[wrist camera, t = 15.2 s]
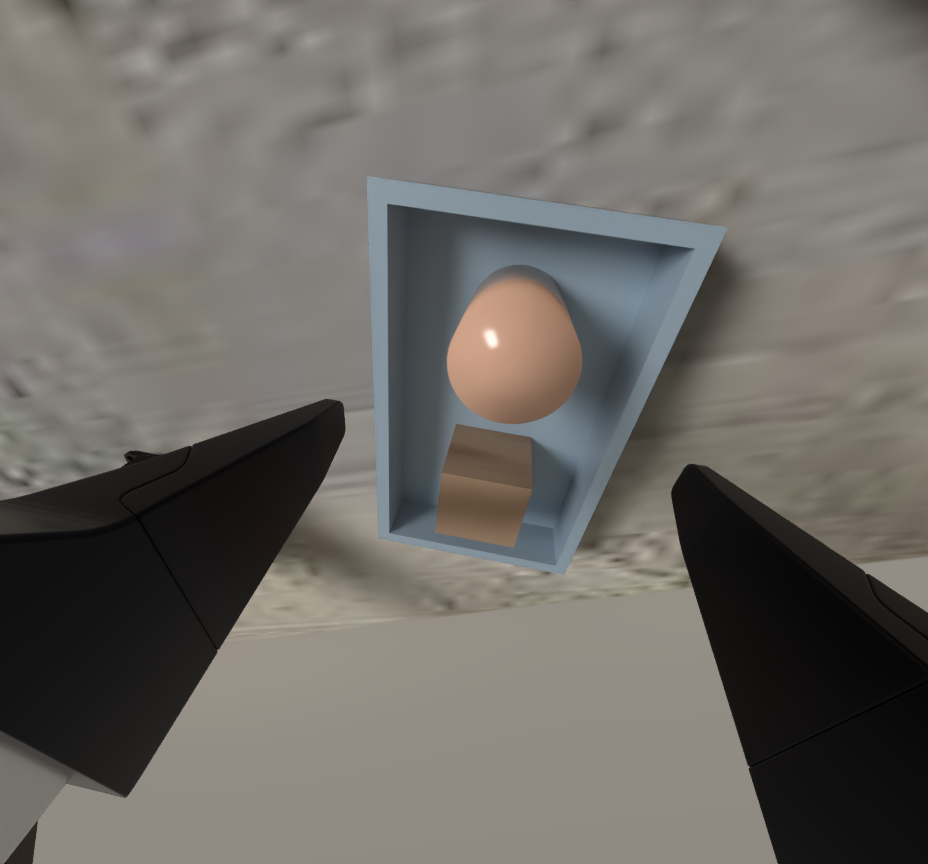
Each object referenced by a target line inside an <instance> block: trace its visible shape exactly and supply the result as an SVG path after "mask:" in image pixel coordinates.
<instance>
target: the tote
mask: <svg viewBox="0 0 928 864" xmlns="http://www.w3.org/2000/svg"><path fill="white" fill-rule="evenodd" d="M367 199H368V229H369V260H370V290H371V321H372V352H373V382H374V413H375V443H376V474H377V505H378V535H379V539H385V540H390V541H395V542H400V543H405V544H410V545H415V546H420V547H425V548H430V549H435V550H441V551H446V552H451V553H456V554H461V555H466V556H471V557H476V558H481V559H486V560H491V561H497V562H502V563H507V564H512V565H517V566H522V567H527V568H532V569H537V570H542V571H548V572H553V573H558V574H563V575H564V574H565V572H566V570H567V568H568V566H569V564H570V562H571V559H572V557H573V555H574V553H575V551H576V549H577V547H578V545H579V542H580V540H581V538H582V536H583V534H584V532H585V530H586V528H587V525H588V523H589V521H590V519H591V517H592V515H593V513H594V511H595V509H596V506H597V504H598V502H599V500H600V498H601V496H602V494H603V492H604V489H605V487H606V485H607V483H608V481H609V479H610V477H611V475H612V472H613V470H614V468H615V466H616V464H617V462H618V460H619V458H620V456H621V453H622V451H623V449H624V447H625V445H626V443H627V441H628V439H629V436H630V434H631V432H632V430H633V428H634V426H635V424H636V422H637V419H638V417H639V415H640V413H641V411H642V409H643V407H644V405H645V403H646V400H647V398H648V396H649V394H650V392H651V390H652V388H653V386H654V383H655V381H656V379H657V377H658V375H659V373H660V371H661V369H662V366H663V364H664V362H665V360H666V358H667V356H668V354H669V352H670V350H671V347H672V345H673V343H674V341H675V339H676V337H677V335H678V333H679V330H680V328H681V326H682V324H683V322H684V320H685V318H686V316H687V313H688V311H689V309H690V307H691V305H692V303H693V301H694V299H695V297H696V294H697V292H698V290H699V288H700V286H701V284H702V282H703V280H704V277H705V275H706V273H707V271H708V269H709V267H710V265H711V263H712V260H713V258H714V256H715V254H716V252H717V250H718V248H719V246H720V244H721V241H722V239H723V237H724V235H725V233H726V231H727V229H728V228H727V227H721V226H715V225H709V224H703V223H697V222H690V221H684V220H677V219H670V218H663V217H656V216H649V215H642V214H635V213H628V212H621V211H614V210H607V209H600V208H593V207H586V206H579V205H572V204H565V203H558V202H551V201H544V200H537V199H529V198H522V197H515V196H508V195H501V194H494V193H487V192H480V191H473V190H466V189H459V188H452V187H445V186H438V185H431V184H424V183H417V182H410V181H403V180H396V179H387V178H379V177H370V176H367ZM510 265H528V266H533V267H535V268H538V269H540V270H542V271H544V272H545V273H546V274H548V275H549V276H550V277H551V278H552V279H553V280H554V281H555V283H556V284H557V286H558V287H559V289H560V291H561V294H562V296H563V299H564V302H565V305H566V307H567V310H568V313H569V315H570V318H571V321H572V323H573V326H574V329H575V332H576V334H577V337H578V340H579V343H580V346H581V351H582V370H581V374H580V378H579V381H578V383H577V386H576V388H575V389H574V391H573V393H572V394H571V396H570V397H569V398H568V400H567V401H566V402H565V403H564V404H563V405H562V406H561V407H560V408H558V409H557V410H556V411H555V412H553V413H551V414H550V415H548V416H546V417H544V418H542V419H539V420H536V421H533V422H529V423H524V424H504V423H498V422H494V421H491V420H488V419H485V418H483V417H481V416H479V415H478V414H476V413H474V412H473V411H472V410H470V409H469V408H468V407H467V406H466V405H465V404H464V403H463V402H462V401H461V400H460V399H459V397H458V396H457V395H456V393H455V391H454V389H453V387H452V385H451V382H450V379H449V375H448V370H447V355H448V349H449V346H450V343H451V340H452V338H453V336H454V333H455V331H456V329H457V328H458V326H459V324H460V322H461V320H462V318H463V316H464V314H465V312H466V310H467V308H468V306H469V304H470V302H471V300H472V298H473V296H474V294H475V292H476V290H477V288H478V287H479V285H480V284H481V283H482V282H483V280H484V279H485V278H487V277H488V276H489V275H490V274H492V273H493V272H494V271H496V270H498V269H500V268H503V267H506V266H510ZM456 424H460V425H465V426H471V427H477V428H482V429H488V430H493V431H499V432H504V433H510V434H516V435H521V436H527V437H531V455H532V492H531V496H530V499H529V502H528V505H527V508H526V511H525V515H524V518H523V521H522V524H521V527H520V530H519V534H518V537H517V540H516V543H515V546H514V548H512V547H507V546H502V545H496V544H491V543H486V542H481V541H476V540H471V539H466V538H461V537H456V536H451V535H445V534H440V533H435V527H436V518H437V509H438V500H439V491H440V482H441V473H442V469H443V466H444V463H445V459H446V456H447V453H448V449H449V446H450V443H451V439H452V436H453V433H454V429H455V426H456Z"/></svg>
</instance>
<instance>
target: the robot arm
mask: <svg viewBox="0 0 928 864" xmlns="http://www.w3.org/2000/svg"><path fill="white" fill-rule="evenodd" d="M344 434H345V417H344V407H343V404H342V402H341V401H337V400H331V399H324V400H321V401H318V402H316V403H313V404H310V405H307V406H304V407H301V408H298V409H295V410H292V411H289V412H286V413H283V414H281V415H278V416H275V417H272V418H269V419H266V420H263V421H260V422H257V423H254V424H251V425H248V426H246V427H243V428H240V429H237V430H234V431H231V432H228V433H225V434H222V435H219V436H216V437H214V438H211V439H208V440H205V441H202V442H199V443H196V444H193V446H192V447H191V446H187V447H184V448H181V449H178V450H175V451H173V452H170V453H166V454H163V455H160V456H156V455H151V454H146V453H140V452H135V451H129V452H127V453H126V454H125V455H124V457H125V459H126V460H127V462H128V463H127V464H125V465H124V466H122V467H121V468H119V469H115V470H112V471H108V472H105V473H101V474H98V475H95V476H91V477H88V478H84V479H81V480H77V481H74V482H70V483H67V484H63V485H60V486H56V487H53V488H50V489H46V490H43V491H39V492H36V493H32V494H29V495H25V496H21V497H17V498H12V499H7V500H1V501H0V864H32V863H33V855H34V847H35V839H36V831H37V823H38V819H39V818H40V817H41V815H42V814H43V813H44V812H45V810H46V809H47V808H48V806H49V805H50V804H51V803H52V801H53V800H54V799H55V797H56V796H57V795H58V794H59V792H60V791H61V790H62V789H63V787H64V786H65V785H66V784H70V785H75V786H79V787H83V788H87V789H91V790H95V791H99V792H103V793H107V794H111V795H115V796H120V797H123V798H125V797H127V796H128V795H129V793H130V792H131V790H132V789H133V788H134V786H135V784H136V783H137V782H138V780H139V779H140V777H141V775H142V774H143V772H144V770H145V769H146V767H147V765H148V764H149V762H150V761H151V759H152V757H153V756H154V754H155V753H156V751H157V749H158V748H159V746H160V745H161V743H162V741H163V740H164V738H165V736H166V735H167V733H168V732H169V730H170V728H171V727H172V725H173V724H174V722H175V720H176V718H177V717H178V715H179V714H180V712H181V711H182V709H183V707H184V706H185V704H186V702H187V701H188V699H189V697H190V696H191V694H192V693H193V691H194V690H195V688H196V686H197V685H198V683H199V681H200V680H201V678H202V677H203V675H204V673H205V671H206V670H207V668H208V667H209V665H210V664H211V662H212V660H213V659H214V657H215V656H216V654H217V650H218V649H220V647H221V645H222V644H223V642H224V641H225V639H226V637H227V636H228V634H229V632H230V631H231V629H232V628H233V626H234V624H235V623H236V621H237V619H238V618H239V616H240V615H241V613H242V611H243V610H244V608H245V607H246V605H247V603H248V602H249V600H250V598H251V597H252V595H253V594H254V592H255V590H256V589H257V587H258V586H259V584H260V582H261V581H262V579H263V577H264V576H265V574H266V573H267V571H268V569H269V568H270V566H271V564H272V563H273V561H274V560H275V558H276V556H277V555H278V553H279V552H280V550H281V548H282V547H283V545H284V543H285V542H286V540H287V539H288V537H289V535H290V534H291V532H292V530H293V529H294V527H295V526H296V524H297V522H298V521H299V519H300V518H301V516H302V514H303V513H304V511H305V509H306V508H307V506H308V505H309V503H310V501H311V500H312V498H313V497H314V495H315V493H316V492H317V490H318V488H319V487H320V485H321V483H322V482H323V480H324V478H325V476H326V474H327V472H328V469H329V467H330V465H331V463H332V461H333V459H334V456H335V454H336V452H337V450H338V448H339V446H340V443H341V441H342V439H343V437H344ZM671 497H672V503H673V508H674V514H675V519H676V525H677V530H678V535H679V541H680V545H681V550H682V553H683V557H684V560H685V563H686V567H687V570H688V573H689V576H690V580H691V583H692V586H693V589H694V592H695V596H696V599H697V602H698V606H699V609H700V612H701V615H702V619H703V622H704V625H705V628H706V631H707V635H708V638H709V641H710V645H711V648H712V651H713V654H714V657H715V660H716V664H717V667H718V670H719V673H720V677H721V680H722V683H723V687H724V690H725V693H726V696H727V700H728V703H729V706H730V709H731V713H732V716H733V719H734V722H735V726H736V729H737V732H738V735H739V739H740V742H741V745H742V748H743V752H744V755H745V758H746V761H747V764H748V766H749V767H750V768H749V772H750V775H751V778H752V782H753V785H754V788H755V791H756V794H757V798H758V801H759V804H760V808H761V811H762V814H763V817H764V820H765V824H766V827H767V830H768V833H769V836H770V840H771V843H772V846H773V850H774V853H775V855H776V859H777V863H778V864H928V612H926V611H924V610H923V609H921V608H920V607H918V606H917V605H915V604H914V603H912V602H911V601H909V600H908V599H906V598H905V597H903V596H901V595H900V594H898V593H897V592H895V591H894V590H892V589H891V588H889V587H888V586H886V585H885V584H883V583H882V582H880V581H879V580H877V579H876V578H874V577H873V576H871V575H869V574H865V572H864V571H863V570H862V569H860V568H859V567H858V566H856V565H855V564H853V563H852V562H850V561H849V560H847V559H845V558H844V557H842V556H841V555H839V554H838V553H836V552H835V551H833V550H832V549H830V548H829V547H827V546H826V545H824V544H823V543H821V542H820V541H818V540H817V539H815V538H814V537H812V536H811V535H809V534H808V533H806V532H805V531H803V530H802V529H800V528H799V527H797V526H796V525H794V524H793V523H791V522H790V521H788V520H787V519H785V518H784V517H782V516H781V515H779V514H778V513H776V512H775V511H773V510H772V509H770V508H769V507H767V506H766V505H764V504H763V503H761V502H760V501H758V500H757V499H755V498H754V497H752V496H751V495H749V494H748V493H746V492H745V491H743V490H742V489H740V488H739V487H737V486H736V485H734V484H733V483H731V482H730V481H728V480H727V479H725V478H724V477H722V476H721V475H719V474H718V473H716V472H715V471H713V470H712V469H710V468H709V467H706V466H702V465H696V464H689V465H687V466H686V467H685V468H684V470H683V471H682V473H681V475H680V476H679V478H678V479H677V481H676V483H675V484H674V486H673V488H672V492H671Z"/></svg>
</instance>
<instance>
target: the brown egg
mask: <svg viewBox="0 0 928 864" xmlns="http://www.w3.org/2000/svg"><path fill="white" fill-rule="evenodd" d="M447 370H448V375H449V379H450V382H451V385H452V387H453V389H454V391H455V393H456V395H457V396H458V397H459V399H460V400H461V401H462V402H463V403H464V404H465V405H466V406H467V407H468V408H469V409H470V410H472V411H473V412H474V413H476V414H478V415H479V416H481V417H483V418H485V419H488V420H491V421H494V422H498V423H504V424H524V423H529V422H533V421H536V420H539V419H542V418H544V417H546V416H548V415H550V414H551V413H553V412H555V411H556V410H557V409H558V408H560V407H561V406H562V405H563V404H564V403H565V402H566V401H567V400H568V398H569V397H570V396H571V394H572V393H573V391H574V389H575V388H576V386H577V383H578V381H579V378H580V374H581V370H582V351H581V346H580V343H579V340H578V337H577V334H576V332H575V329H574V326H573V323H572V321H571V318H570V315H569V313H568V310H567V307H566V305H565V302H564V299H563V296H562V294H561V291H560V289H559V287H558V286H557V284H556V283H555V281H554V280H553V279H552V278H551V277H550V276H549V275H548V274H546V273H545V272H544V271H542V270H540V269H538V268H535V267H533V266H528V265H510V266H506V267H503V268H500V269H498V270H496V271H494V272H493V273H492V274H490V275H489V276H488V277H487V278H485V279H484V280H483V282H482V283H481V284H480V285H479V287H478V288H477V290H476V292H475V294H474V296H473V298H472V300H471V302H470V304H469V306H468V308H467V310H466V312H465V314H464V316H463V318H462V320H461V322H460V324H459V326H458V328H457V329H456V331H455V333H454V336H453V338H452V340H451V343H450V346H449V349H448V355H447Z"/></svg>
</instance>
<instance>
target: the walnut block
mask: <svg viewBox="0 0 928 864" xmlns="http://www.w3.org/2000/svg"><path fill="white" fill-rule="evenodd" d="M531 492H532V455H531V437H527V436H521V435H516V434H510V433H504V432H499V431H493V430H488V429H482V428H477V427H471V426H465V425H460V424H456V426H455V429H454V433H453V436H452V439H451V443H450V446H449V449H448V453H447V456H446V459H445V463H444V466H443V469H442V473H441V482H440V491H439V500H438V509H437V518H436V527H435V533H440V534H445V535H451V536H456V537H461V538H466V539H471V540H476V541H481V542H486V543H491V544H496V545H502V546H507V547H512V548H514V546H515V543H516V540H517V537H518V534H519V530H520V527H521V524H522V521H523V518H524V515H525V511H526V508H527V505H528V502H529V499H530V496H531Z"/></svg>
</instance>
